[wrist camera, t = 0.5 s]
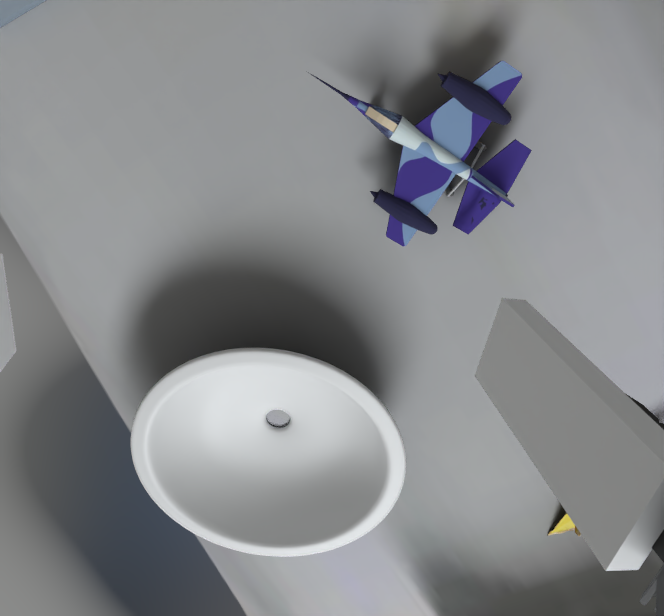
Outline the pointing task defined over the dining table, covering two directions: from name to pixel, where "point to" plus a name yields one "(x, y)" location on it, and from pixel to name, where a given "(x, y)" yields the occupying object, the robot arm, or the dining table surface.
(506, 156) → the toy airplane
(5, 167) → the dining table surface
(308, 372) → the soup bowl
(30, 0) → the board
